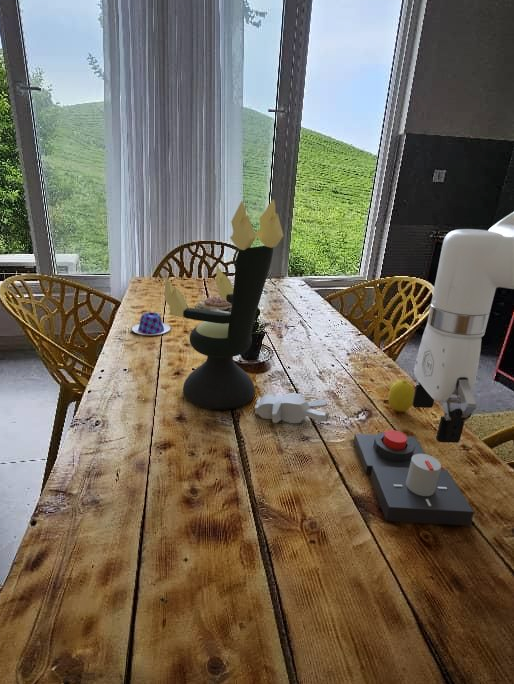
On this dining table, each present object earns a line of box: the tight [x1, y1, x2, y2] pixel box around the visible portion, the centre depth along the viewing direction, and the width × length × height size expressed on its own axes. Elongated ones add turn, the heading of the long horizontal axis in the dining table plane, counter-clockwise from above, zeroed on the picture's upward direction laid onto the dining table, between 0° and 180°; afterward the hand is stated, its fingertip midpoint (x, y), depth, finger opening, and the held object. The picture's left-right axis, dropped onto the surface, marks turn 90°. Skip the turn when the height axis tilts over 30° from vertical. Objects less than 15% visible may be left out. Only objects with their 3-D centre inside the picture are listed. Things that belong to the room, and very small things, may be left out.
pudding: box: [131, 311, 171, 336], centre depth 140 cm, size 12×12×5 cm
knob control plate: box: [369, 466, 475, 527], centre depth 73 cm, size 13×10×3 cm
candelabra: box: [164, 199, 285, 411], centre depth 95 cm, size 19×22×45 cm
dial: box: [406, 453, 442, 496], centre depth 71 cm, size 4×4×5 cm
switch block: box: [353, 431, 427, 476], centre depth 83 cm, size 12×10×4 cm
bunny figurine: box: [254, 392, 328, 424], centre depth 95 cm, size 10×5×15 cm
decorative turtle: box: [194, 295, 232, 314], centre depth 162 cm, size 18×17×5 cm
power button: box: [383, 429, 407, 450], centre depth 82 cm, size 4×4×2 cm
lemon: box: [387, 379, 415, 413], centre depth 99 cm, size 6×6×8 cm
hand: (434, 422), depth 69 cm, fingers open, 9 cm apart
